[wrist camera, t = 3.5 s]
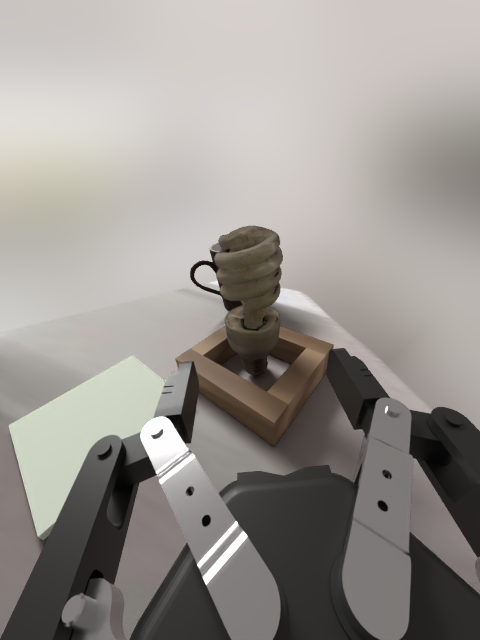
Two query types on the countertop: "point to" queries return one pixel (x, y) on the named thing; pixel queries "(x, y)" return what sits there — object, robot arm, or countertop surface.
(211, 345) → the brown wooden square frame
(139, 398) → the mat
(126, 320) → the countertop surface
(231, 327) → the light bulb
